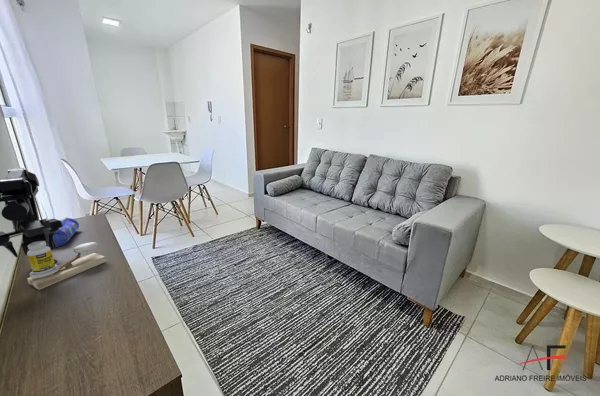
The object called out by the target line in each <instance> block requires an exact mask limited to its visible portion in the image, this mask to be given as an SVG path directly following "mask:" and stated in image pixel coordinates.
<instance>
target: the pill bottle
mask: <svg viewBox="0 0 600 396" xmlns="http://www.w3.org/2000/svg"><path fill="white" fill-rule="evenodd" d="M28 249H29V251H28V252H27V255H26V256H27V259H28V262H29V265H30V269H31V272H33V273H34V274H42V273H46V272H49V271H51V270H53V269H54V268H55V265H56V262H54V259H55V258H54V255H53V252H52V250H51V249H50V247H48V246H46V242H45V241H38V242H34V243H31V244H29V245H28Z"/></svg>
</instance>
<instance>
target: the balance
mask: <svg viewBox="0 0 600 396" xmlns="http://www.w3.org/2000/svg"><path fill="white" fill-rule="evenodd" d="M98 247H99V243H98V242H94V241H93V242H92V241H91V242H84V243H81V244H79V245H76V246H74V248H72V249H73V252H74V253H76V254H77V255H75V256H74V257H72V258H70V259H69V260H67V261H65V262H64V263H62V264H60V265H59V264H55V268H54V269H53V270H51V271H49V272H46V273H42V274H34V273H33V272H32V271H31V272H30V273H29V277H27V282H28V284H29V285H30V286H31V287H33V288H35V289H37V290H39V291H40V290H43V289H44V288H47V287H49V286H52V285H54V284H56V283H59V282H60V281H64V280H66V279H68V278H71V277H73V276H75V275H78V274H80V273H82V272H85V271H88V270H89V269H92V268H94V267H97V266H99V265H102V264H104V263H106V262H107V260H106V256H104V255H101V254H100V253H96V252H93V253H90V254H87V255H84V256H82V257H81V255H82V254H81V253H86V252H87V253H88V252H91V251H93V250H95V249H97V248H98Z"/></svg>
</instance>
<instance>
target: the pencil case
mask: <svg viewBox="0 0 600 396" xmlns="http://www.w3.org/2000/svg"><path fill="white" fill-rule="evenodd" d="M59 220H60V221H61V222H62V224H63V227H60V228H59V230H57V231H56V232H55V233H54V235H53V238H52V239H53V240H54V242H55V245H56V247H61V246H64V245H65V244H67V243H68V242H69V241H70V239H71V238H72V237H73V235H75V233H77V231H78V230H79V227H80V224H79V222H78V221H77V220H75V219H74V218H72V217H71V218H70V217H65V218H63V219H59Z"/></svg>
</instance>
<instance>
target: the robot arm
mask: <svg viewBox="0 0 600 396" xmlns="http://www.w3.org/2000/svg"><path fill="white" fill-rule="evenodd" d="M39 187H40V182H39V179H38V177H37V175H36V173H32V172H30V171H29V170H28V169H27V168H24V167H23V168H22V167H21V168H19V167H18V168H10V169H7V175H6V176H5V178H2V179H0V203H1V202H4V207H3V208H2V210H1V213H0V214H1V216H2V217H3V218H4V219H5V220H7V221H11V224H12V229H13V230H14V231H13V230H12V231H10V232H4V231H3V230H2V231H0V247H3V248H5V249H6V250H7V251H8V252H9V253H11V254H12V255H13V256H14V257H15V258H19V255H18V253H17V251H16V249H15V247H14V245H13V241H12V240H11V238H14V237H18V236H22V237H21V238H22V241H21V242H20V243H21V245H20V246H21V248H22V250H23V253H24V255H25V256H27V252H28V251H29V249H28V245H29V244H31V243H34V242H38V241H45V242H46V246H48V247H50V249H51V251H52V250H54V249H55V248H56V245H55V242H54V240H53V239H52V238H53V235H54V233H55V232H56V231H57V230H59V228H60V227H63V224H62V222H61V221H60V220H61V219H58V218H57V219H56V218H50V219H48V218H47V217H46V218H42V219H40V216H39V210H38V207H37V201H36V197H35V196H36V195H37V194H38V192H39ZM53 259H54V263H57V262H58V260H57V259H56V258H53Z"/></svg>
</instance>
